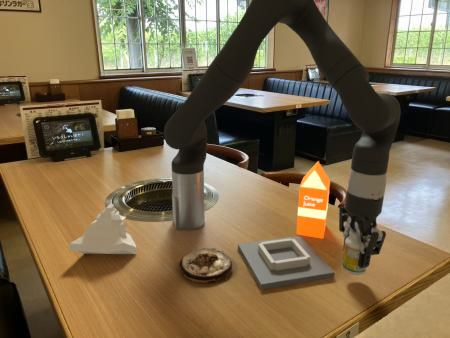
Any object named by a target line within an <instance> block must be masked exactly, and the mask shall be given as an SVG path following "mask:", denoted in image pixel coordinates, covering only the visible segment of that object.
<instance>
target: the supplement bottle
mask: <svg viewBox="0 0 450 338" xmlns="http://www.w3.org/2000/svg"><path fill="white" fill-rule="evenodd" d="M362 237H363V238H368V237H369V235H368V236H362ZM366 247H368V242H366V243H365V248H366ZM342 252H343V251H342ZM360 252H361V250H360V243H359V242H358V241H357V233H356V232H355V231H354V230H352V229H350V232H349V236H348V237H347V238H346V239H345V245H344V252H343V254H342V261H341V266H342V269H343V271H345V272H347V273H348V274H350V275H353V276H354V275H355V276H357V275H358V276H361V275H364V274H365V273H366V272H367V268H368V267H366V268H360V267H359V266H358V261H359V255H360Z"/></svg>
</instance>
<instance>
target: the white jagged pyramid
mask: <svg viewBox="0 0 450 338" xmlns="http://www.w3.org/2000/svg"><path fill="white" fill-rule="evenodd" d="M126 217H127V216H124V215H121V214H120V210H118V209H116V206H115V204H114V203H112V202H110V203H108V205H107V206H106V207H105V208H104V210H102V211H101V212H99V213H98V215H97V216H96V219H95V220H94V221H92V222H91V223H90V224H89V225H88V226H87V227H86V228H85V229H84V233H83V235H81V236H80V237H79V238H77V239H74V240H73V241H70V243H69V246H68V247H69V248H68V251H71V252H74V253H75V252H76V253H79V254H85V255H89V254H91V255H92V254H93V255H137V250H138V248H137V245H136V243H135V241H134V240H133V238H132V235H131V234H129V233H128V232H127V228H128V227H127V226H128V225H127V224H126V223H125V224H124V222H125V219H126Z"/></svg>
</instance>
